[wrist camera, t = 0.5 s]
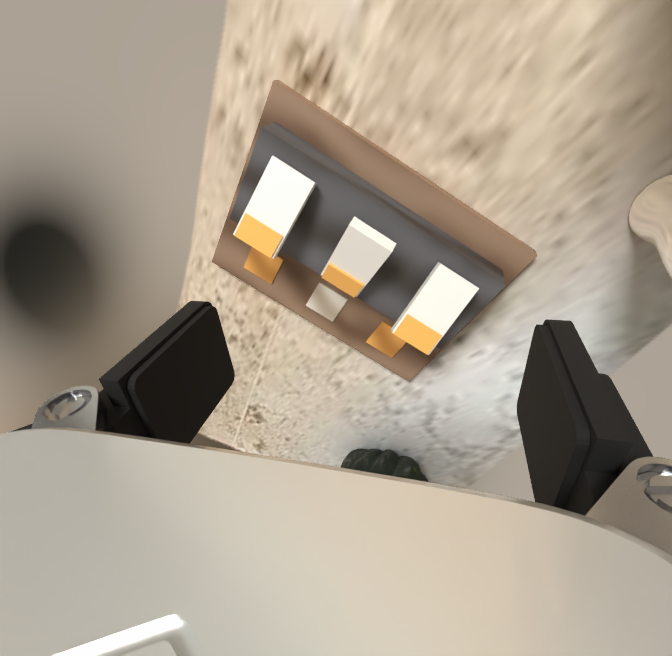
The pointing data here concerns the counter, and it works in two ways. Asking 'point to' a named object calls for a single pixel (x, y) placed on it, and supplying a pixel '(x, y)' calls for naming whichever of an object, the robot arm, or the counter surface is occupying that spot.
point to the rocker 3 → (434, 308)
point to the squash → (383, 464)
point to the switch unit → (374, 210)
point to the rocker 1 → (274, 207)
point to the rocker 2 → (357, 257)
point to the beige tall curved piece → (655, 218)
